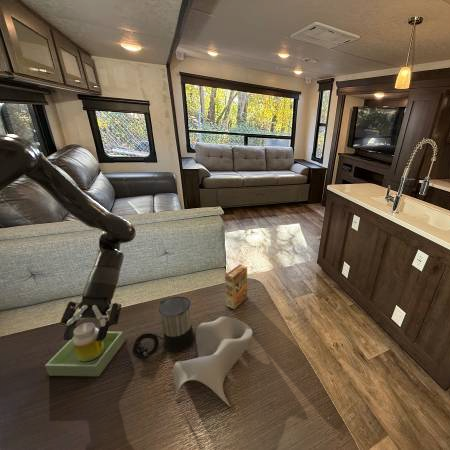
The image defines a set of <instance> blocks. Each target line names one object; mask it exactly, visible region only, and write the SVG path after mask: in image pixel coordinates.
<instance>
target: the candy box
mask: <svg viewBox="0 0 450 450" xmlns="http://www.w3.org/2000/svg"><path fill="white" fill-rule="evenodd" d="M224 278H225V279H224V280H225V282H224V283H225V299H226V300H225V302H226V307H228V308H230V309H233V310H235V309H236V308H237V307H238V306H240V305H241V304H242V303H243V302H244V301H245V300H246V299H248V267H247V266H246V265H242V264H238V265H237V266H235V267H234V268H232V269H231V270H230V271H228V272H226V273H225V274H224Z"/></svg>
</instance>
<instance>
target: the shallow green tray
mask: <svg viewBox="0 0 450 450" xmlns="http://www.w3.org/2000/svg"><path fill="white" fill-rule="evenodd" d="M73 338H74V336H73ZM73 338H72V340H68V341H67V342H66V343H65V344H64V346H62V347H61V348H60V350H59V351H57V352H56V354H55V355H54V356H52V358H50V360H48V361H47V363H46V364H44V368H45V370H46V372H47V374H48V376H49V377H52V376H53V377H54V376H55V377H100V376H101V374H102V373H103V372H104V370H105V369H106V368H107V366H108V365H109V363H110V362H111V361H112V360H113V358H114V357H115V355H116V354H117V353H118V351H119V350H120V348H121V347H122V346H123V344H124V343H125V342H126V340H125V335H124V331H111V330H110V331H109V330H108V331H107V334H106V337H105V339H103V343H104V346H105V353H104V354H103V355H102V356H101V358H100V359H99V360H97V361H95V362H93V363H90V364H82V363H81V362H80V361H79V358H78V355H77V353H76V350H75V347H74V344H73Z"/></svg>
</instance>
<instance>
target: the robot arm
mask: <svg viewBox="0 0 450 450" xmlns="http://www.w3.org/2000/svg"><path fill="white" fill-rule="evenodd" d="M23 177H26V178H27V179H30V180H31V181H32V182H34V183H36V185H38V186H39V187H41V188H42V189H43V190H44V191H45V192H46V193H47V194H48V195H50V197H51V198H52V199H54V201H55V202H56V203H57V204H58V205H60V207H61V208H62V209H63V210H64V211H65V212H67V213H68V214H69V215H70V216H72V217H74V218H75V219H76V220H78V222H81V223H82V224H83V225H85V226H87V227H89V228H91V229H99V230H100V233H99V236H98V244H97V245H98V246H97V255H96V258H95V260H94V264H93V266H92V269H91V271H90V272H89V275H88V278H87V280H86V282H85V286H84V289H83V292H82V295H81V298H82V299H81V300H80V302H78V301H69V302H68V303H67V305H66V307H65V310H64V313H63V314H62V317H61V319H60V323H61V324H64V325H66V327H65V330H64V333H63V337H62V338H63V340H64V341H70V340H72V338H73V337H74V333H73V331H74V329H75V328H76V327H77V326H78V324H79V323H80V322H82V321H83V320H85V319H86V318H88V319H97V321H99V324H100V326H99V328H98V329H99V331H98V335H97V338H96V341H103V339H105V337H106V334H107V331H109V328H110V327H111V326H113V325H117V324H118V322H119V319H120V318H119V317H120V313H121V310H122V304H121V303H119V302H114V303H112V300H113V298H114V296H115V293H116V289H117V286H118V283H119V279H120V275H121V274H120V273H121V269H122V265H123V262H124V259H125V254H124V253H123V252H122V251H121V245H122V244H127V243H131V242H132V241H134V239H136V236H137V231H136V228H135V227H134V225H133V224H132V223H130V222H129V221H128V220H126V219H125V218H123V217H121V216H119V215H117V214H115V213H113V212H111V211H109V210H107V209H106V208H105V207H104V206H102V205H101V204H100V203H99V202H98V201H96V200H95V199H93V198H92V197H91V196H90V195H88V194H87V193H86V192H85V191H83V190H82V189H81V188H79V187H78V186H77V185H76V184H75V183H73V182H72V181H71V180H69V178H68V177H66V176H65V174H63V173H62V172H61V171H60V170H59V169H58V168H56V166H54V164H52V162H50V160H49V159H48V158H47V157H46V156H45V155H44V154H43V153H42V152H41V150H39V149H38V147H36V146H35V144H33V143H32V142H31V141H30V140H28V139H27V138H24V137H22V136H20V135H17V134H11V133H1V134H0V193H1V192H3V190H5V189H7V188H8V187H10V186H11V185H13V183H15V182H17V181H19V180H20V179H22V178H23ZM78 309H79V310H78ZM77 310H78V311H77ZM109 310H110V314H108V311H109ZM76 311H77V312H76Z"/></svg>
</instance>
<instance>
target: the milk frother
mask: <svg viewBox="0 0 450 450" xmlns="http://www.w3.org/2000/svg"><path fill="white" fill-rule="evenodd" d="M191 305H192V302H191V300H190V299H189V298H188V297H185V296H178V295H177V296H172V297H171V296H168V297H165V298H163V299H162V300H160V305H159V306H158V308H157V312H158V314H159V316H160V323H161V327H162V333H163V336H160V335H157V334H155V333H151V332H146V333H143V334H141V335H139V336H138V337H137V338H136V339H135V341H134V342H133V344H132V354H133V356H134V357H135V358H138V359H146V358H148V357H150V356H152V355H154V354H155V353H156V351H158V349H159V344H160V342H159V339H161V340H163V346H164V348H165V349H166V350H167V351H169V352H180V351H183V350H185V349H187V348H188V347H189V346H191V344H192V343H193V341H194V339H195V334H194V330H193V321H192V309H191ZM158 338H159V339H158ZM145 339H150V340H152V341H153V343H154V344H153V347H152V349H150V351H148V348H147V347H145V346H144V344H143V343H142V341H143V340H145Z"/></svg>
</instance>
